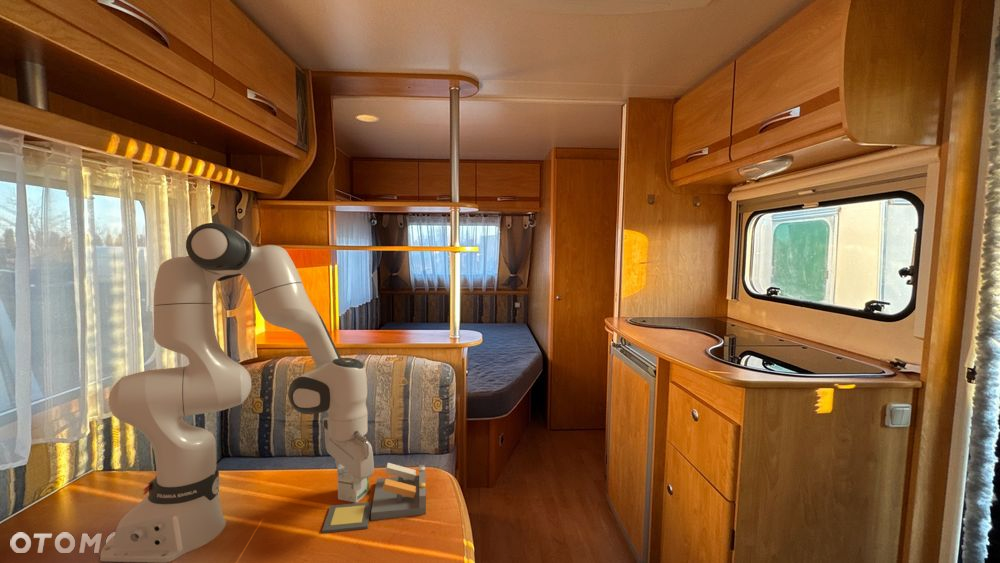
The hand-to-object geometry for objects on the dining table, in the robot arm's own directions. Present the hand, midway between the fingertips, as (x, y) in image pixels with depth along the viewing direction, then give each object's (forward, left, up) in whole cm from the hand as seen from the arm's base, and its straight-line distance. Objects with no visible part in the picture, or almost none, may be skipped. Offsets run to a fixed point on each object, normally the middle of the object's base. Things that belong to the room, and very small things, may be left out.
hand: (348, 482), depth 105 cm
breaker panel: (+12, +6, -9) cm, 16 cm away
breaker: (+12, +11, -4) cm, 16 cm away
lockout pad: (0, 0, -9) cm, 9 cm away
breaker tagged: (+12, +2, -4) cm, 13 cm away
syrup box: (0, +9, -9) cm, 13 cm away
